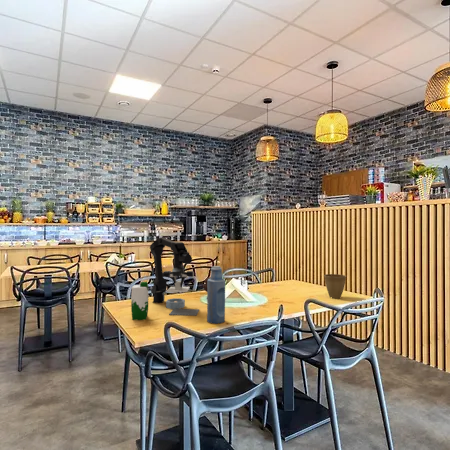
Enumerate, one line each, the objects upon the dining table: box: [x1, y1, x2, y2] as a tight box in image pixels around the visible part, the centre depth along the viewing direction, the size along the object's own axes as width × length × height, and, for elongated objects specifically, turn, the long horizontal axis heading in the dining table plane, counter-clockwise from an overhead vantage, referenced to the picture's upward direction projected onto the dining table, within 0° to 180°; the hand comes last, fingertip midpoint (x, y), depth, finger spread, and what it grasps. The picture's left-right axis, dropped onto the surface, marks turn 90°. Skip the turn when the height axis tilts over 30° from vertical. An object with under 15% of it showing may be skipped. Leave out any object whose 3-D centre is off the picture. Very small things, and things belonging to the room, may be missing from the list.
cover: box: [166, 280, 190, 293], centre depth 208 cm, size 12×12×5 cm
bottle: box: [206, 265, 226, 325], centre depth 182 cm, size 10×10×30 cm
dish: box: [165, 297, 186, 310], centre depth 212 cm, size 11×11×4 cm
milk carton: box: [130, 281, 149, 321], centre depth 187 cm, size 9×9×20 cm
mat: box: [169, 308, 200, 317], centre depth 199 cm, size 16×12×1 cm
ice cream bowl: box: [202, 276, 211, 293], centre depth 235 cm, size 11×11×15 cm
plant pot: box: [323, 273, 347, 299], centre depth 241 cm, size 15×15×16 cm
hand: (178, 287), depth 208 cm, fingers closed on cover, 3 cm apart
